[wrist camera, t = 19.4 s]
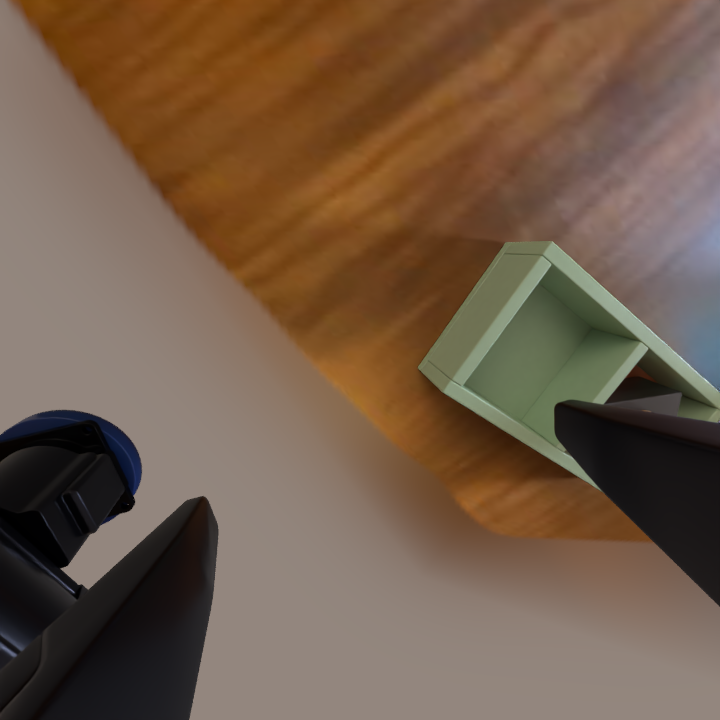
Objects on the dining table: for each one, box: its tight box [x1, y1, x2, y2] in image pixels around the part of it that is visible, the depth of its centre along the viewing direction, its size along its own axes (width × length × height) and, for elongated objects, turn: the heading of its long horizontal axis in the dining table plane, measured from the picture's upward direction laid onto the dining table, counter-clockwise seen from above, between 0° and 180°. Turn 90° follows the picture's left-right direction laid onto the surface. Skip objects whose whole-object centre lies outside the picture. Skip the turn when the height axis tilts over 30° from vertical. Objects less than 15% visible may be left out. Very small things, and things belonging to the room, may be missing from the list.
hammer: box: [604, 376, 682, 416], centre depth 19 cm, size 6×4×13 cm
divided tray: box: [418, 241, 720, 492], centre depth 23 cm, size 9×17×4 cm, turn 56°
